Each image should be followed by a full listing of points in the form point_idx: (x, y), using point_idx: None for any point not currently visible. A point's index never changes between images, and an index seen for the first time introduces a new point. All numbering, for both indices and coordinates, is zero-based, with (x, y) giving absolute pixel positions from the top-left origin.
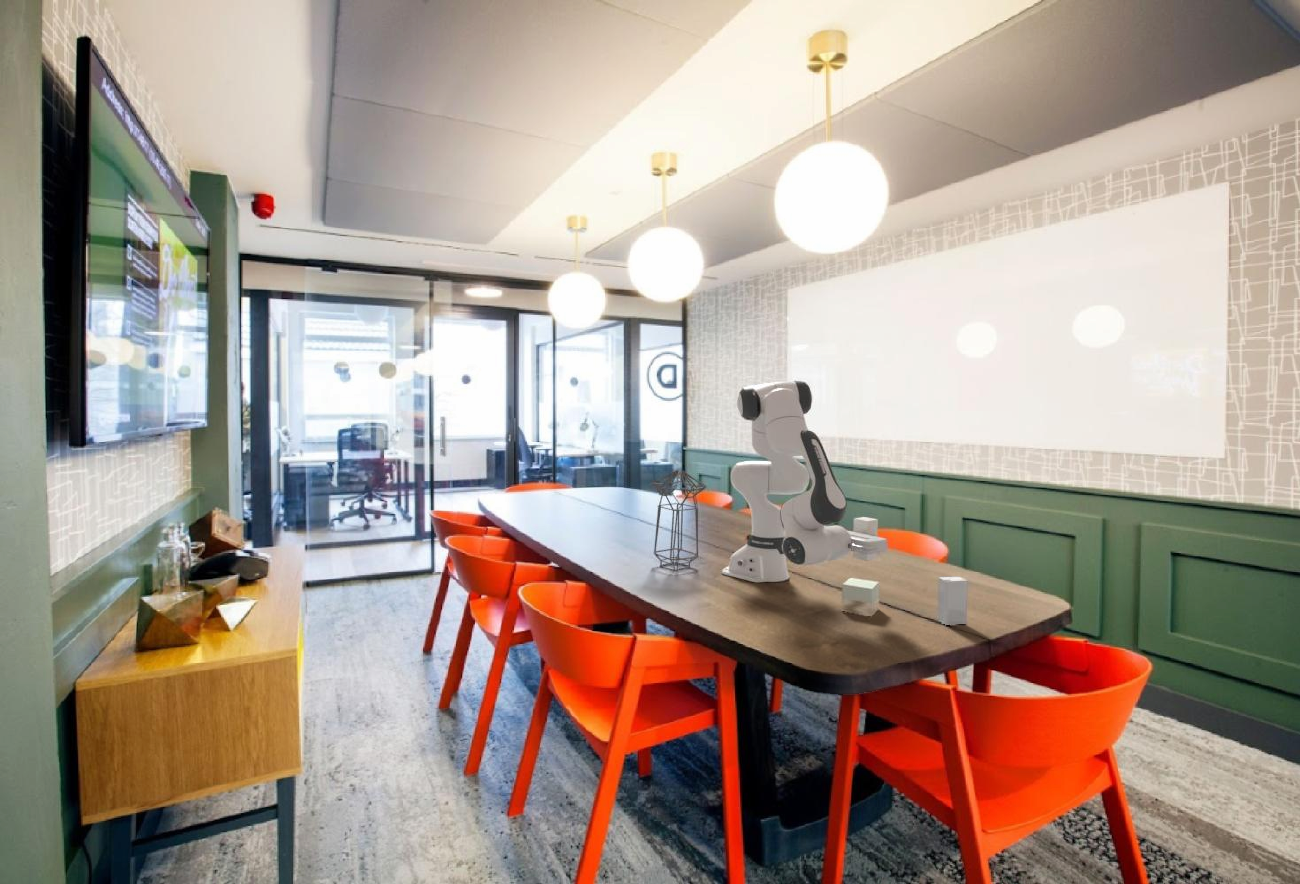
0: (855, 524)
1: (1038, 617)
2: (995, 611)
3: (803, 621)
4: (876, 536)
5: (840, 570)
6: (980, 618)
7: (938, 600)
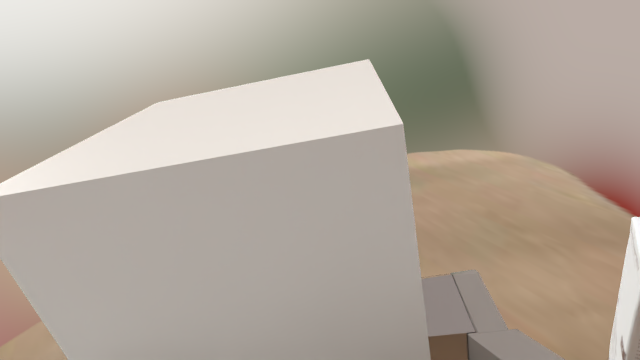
0: (85, 310)
1: (592, 199)
2: (533, 231)
3: None
4: (494, 303)
5: None
6: (590, 284)
7: (632, 357)
